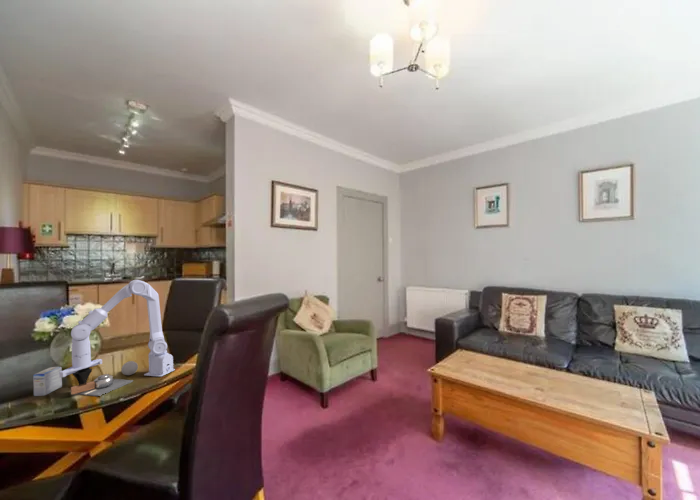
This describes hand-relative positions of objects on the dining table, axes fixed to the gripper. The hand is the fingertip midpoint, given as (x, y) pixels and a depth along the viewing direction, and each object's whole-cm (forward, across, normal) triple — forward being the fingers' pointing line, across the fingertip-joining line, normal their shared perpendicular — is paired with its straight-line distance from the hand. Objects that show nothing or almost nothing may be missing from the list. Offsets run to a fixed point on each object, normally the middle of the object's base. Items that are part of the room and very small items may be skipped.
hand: (82, 388), depth 124 cm
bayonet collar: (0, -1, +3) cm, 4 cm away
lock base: (+1, -5, +5) cm, 7 cm away
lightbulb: (0, -22, -4) cm, 22 cm away
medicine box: (+2, +2, -15) cm, 15 cm away
